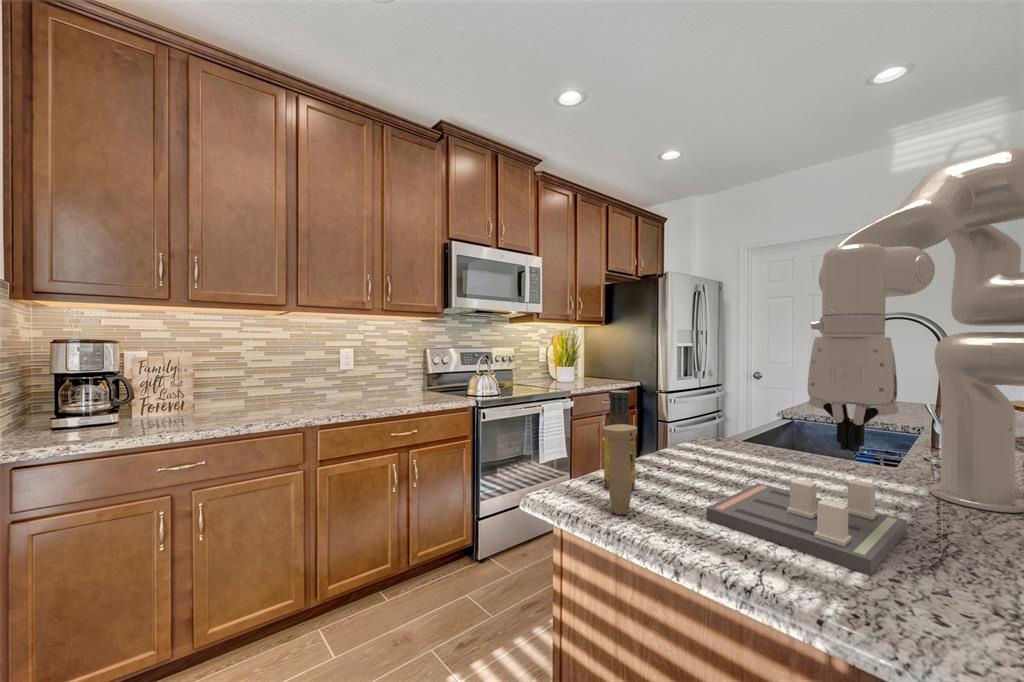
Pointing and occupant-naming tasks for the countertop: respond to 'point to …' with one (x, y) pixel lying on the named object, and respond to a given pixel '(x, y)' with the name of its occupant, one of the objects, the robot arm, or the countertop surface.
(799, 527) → the board
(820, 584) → the countertop surface
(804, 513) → the block
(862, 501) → the block
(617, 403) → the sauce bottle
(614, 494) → the handle
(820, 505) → the block
